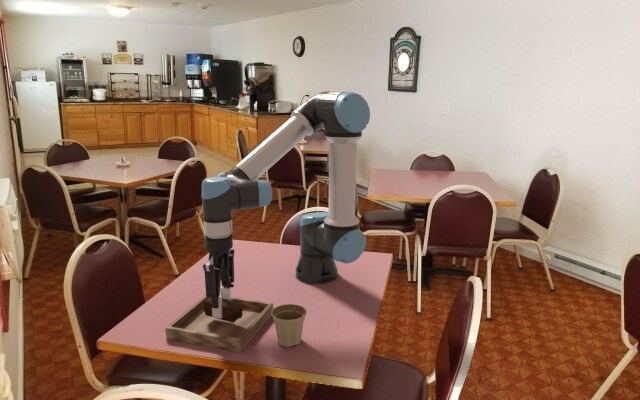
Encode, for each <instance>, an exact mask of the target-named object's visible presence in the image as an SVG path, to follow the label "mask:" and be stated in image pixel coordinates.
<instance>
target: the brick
mask: <svg viewBox="0 0 640 400" xmlns="http://www.w3.org/2000/svg"><path fill="white" fill-rule="evenodd" d="M204 312H205V315H207V316H211V317H212V299H211V298H210V297H209V298H208V299H206V300H205V301H204ZM222 316H223V317H222V318H217V319H221V320H225V321H229V322H233V323H234V322H236V320H237V319H239V318H241V317H242V308H241V307H240V304H239V303H238V302H234V301H230V300H225V299H222ZM214 318H215V317H214Z"/></svg>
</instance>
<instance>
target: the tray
mask: <svg viewBox="0 0 640 400" xmlns="http://www.w3.org/2000/svg"><path fill="white" fill-rule="evenodd" d="M220 296H221V294H220ZM208 298H209V297H206V294H205V295H204V296H202V297H200V299H199V300H197V301H196V302H195V303H194V304H193V305H192V306H190V307H189V308H188V309H187V310H185V311H184V312H183V313H182V314H181V315H179V316H178V317H176V318H175V319H174V320H173V321H171V322H170V323H169V324H168V325H167V326H166V327H165V329H164V330H165V338H166V340H172V341H176V342H182V343H186V344H187V343H188V344H192V345H198V346H204V347H208V348H214V349H220V350H225V351H229V352H235V353H242V351H243V350H244V349H245V348H246V347H247V346H248V344H249V343H250V342H251V340H253V338H254V337H255V336H256V335H257V333H258V332H259V331H260V330H261V329H262V327H264V325H265V324H266V323H267V322H268V320H269V319H270V318H271V317H272V315H271V311H272V310H273V308H274V302H269V301H268V302H267V301H262V300H255V299H249V298H241V297H235V296H231V301H234V302H238V303H239V304H240V307H241V308H242V317H241V318H239V319H237V320H236V322H234V323H233V322H229V321H225V320H221V319H217V318H214V317H211V316H207V315H205V312H204V301H205V300H206V299H208Z"/></svg>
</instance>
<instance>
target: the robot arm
mask: <svg viewBox="0 0 640 400" xmlns="http://www.w3.org/2000/svg"><path fill="white" fill-rule="evenodd" d="M370 119H371V111H370V106H369V104H368V102H367V100H366V99H365V98H364V96H362V95H361V94H359V93H357V92H352V91H327V90H326V91H321V92H318V93H317V94H314V95H313V96H311V97H309V98H307V99H306V100H305V101H304V102H303V103H301V104H300V105H299V106H298V107H296V108H295V109H294V110H293V111H292V112H291V114H290V118H288V120H287V121H285V122H284V123H283V124H282V125H281V126H279V127H278V128H277V129H276V130H275V131H274V132H273V133H271V134H270V135H269V136H268V137H266V138H265V140H264V141H262V142H261V143H260V144H259V145H258V146H256V148H255V149H253V150H252V151H251V152H249V154H248V155H246V156H245V157H244V158H243V159H242V160H240V161H239V162H238V163H237V164H236V165H234V167H232V168H231V169H230V170H229V171H228V172H227V171H223V172H220V173H218V174H216V176H210V177H205V179H204V178H203V180H202V182H201V195H200V196H201V204H202V206H201V207H202V218H203V222H202V224H203V234H204V238H203V240H204V241H203V243H204V249H205V250H206V251H207V252H208V262H207V263H203V265H202V269H203V271H204V285H205V295H206V297H210V298H211V299H212V317H215V318H222V317H223V316H222V299H225V300H230V301H231V297H232V296H231V288H232V289H233V288H234V287H235V284H233V283H235V261H234V260H235V259H234V257H235V249H232V248H233V247H234V243H233V238H234V237H233V234H232V233H233V212H238V211H243V210H249V209H256V208H258V209H259V208H261V207H266V206H269V205H270V204H271V202H272V200H273V190H272V186H271V184H270V182H269V181H268V180H265V179H259V178H260V177H262V176H263V175H264V174H265V173H266V172H268V171H269V169H271V168H272V167H273V166H274V165H275V164H276V163H278V162H279V160H281V159H282V158H283V157H284V156H285V155H286V154H288V152H289V151H291V150H292V149H293V148H294V147H295V146H297V144H299V143H300V142H301V141H302V140H304V138H305V137H307V136H308V137H309V136H312V135H314V134H315V133H316V132H317V131H319V130H322V129H324V131H323V134H324V136H323V137H324V138H325V139H326V140H327V141H328V212H326V211H325V212H324V211H322V212H321V211H317V212H310V213H306V214H303V215H302V216H301V217H300V221H299V229H300V230H299V232H300V233H299V234H300V236H299V239H300V240H299V241H300V243H299V244H300V246H299V248H300V252H299V253H300V254H299V255H300V256H299V259H298V261H297V264H296V267H295V278H296V279H297V280H298V281H301V282H303V283H307V284H312V285H313V284H317V285H318V284H319V285H320V284H327V283H330V282H332V281H335V280H336V279H337V278H338V267H337V263H336V262H339V263H343V264H351V263H353V262H356V261H357V260H358V259H359V258H360V257H361V255H362V254H363V253H364V252H365V249H366V247H367V246H366V245H367V237H366V235H365V234H364V232H363V231H361V230H360V220H359V218H358V217H357V216H356V186H357V185H356V183H357V182H356V179H357V145H358V144H357V143H358V141H359V140H360V139H361V138H362V137H363V136H362V135H363V134H362V133H363V131H364V130H365V129H366V128H367V125H369V122H370ZM220 295H221V296H220Z"/></svg>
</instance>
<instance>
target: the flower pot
mask: <svg viewBox="0 0 640 400" xmlns="http://www.w3.org/2000/svg"><path fill="white" fill-rule="evenodd" d="M307 313H308V310H307V309H306V307H305V306H303V305H301V304H296V303H284V304H280V305H277V306H275V307H273V310H272V311H271V317H272V320H273V321H274V326H275V331H276V338H277V342H278V344H279V345H280V346H282V347H286V348H290V347H291V348H292V347H293V346H299V344H300V343H301V341H302V335H303V329H304V328H303V327H304V321H305V319H306V316H307Z"/></svg>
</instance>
